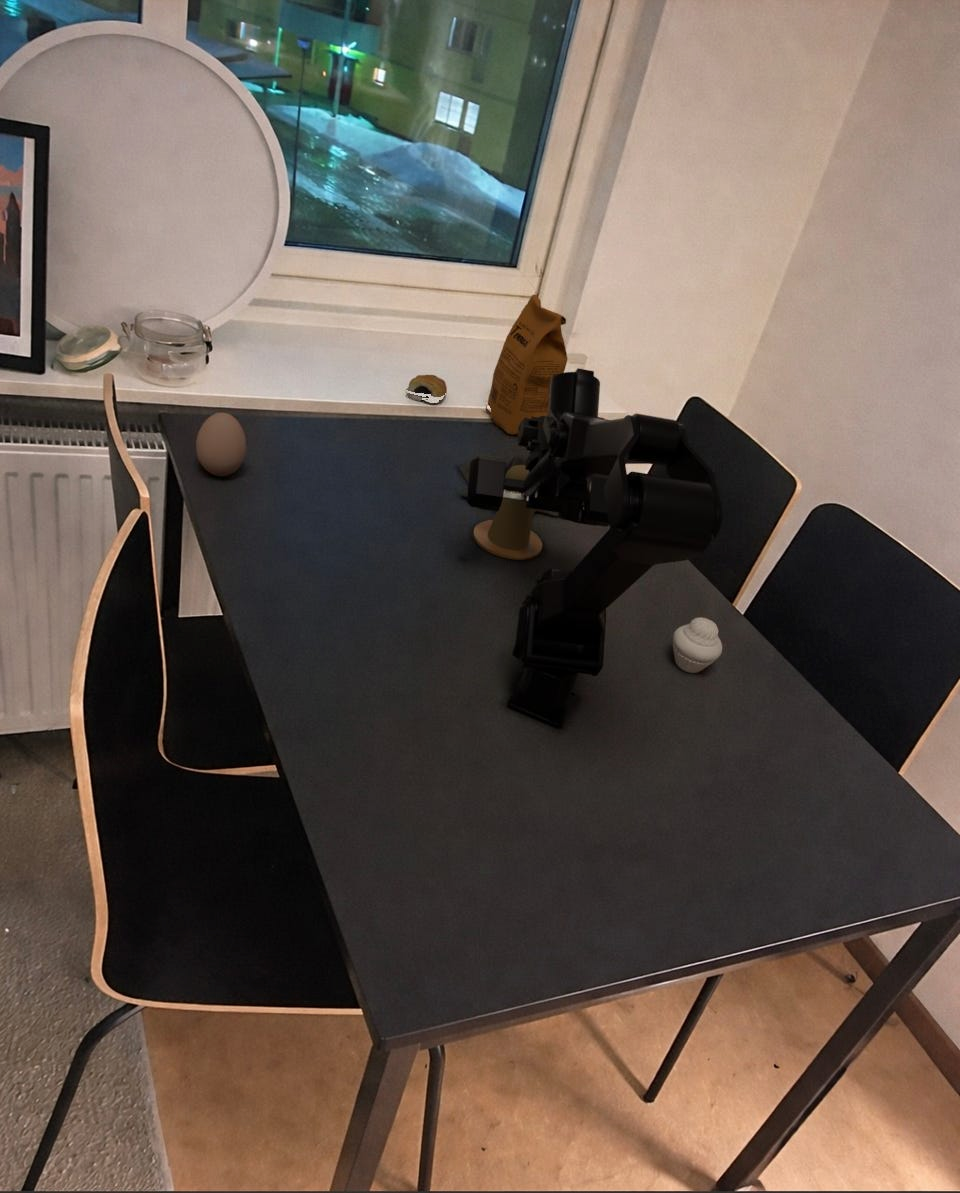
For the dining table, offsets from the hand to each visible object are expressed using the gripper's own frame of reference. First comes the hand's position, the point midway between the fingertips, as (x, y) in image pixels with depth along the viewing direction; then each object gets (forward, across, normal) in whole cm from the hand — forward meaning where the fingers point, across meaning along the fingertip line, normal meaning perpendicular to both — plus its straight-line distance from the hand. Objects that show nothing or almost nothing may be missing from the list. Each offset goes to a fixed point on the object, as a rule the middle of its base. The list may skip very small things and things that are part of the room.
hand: (526, 508), depth 120 cm
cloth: (+21, -5, -9) cm, 24 cm away
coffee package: (+40, -6, -28) cm, 49 cm away
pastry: (+44, +10, -32) cm, 55 cm away
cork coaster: (+10, 0, +2) cm, 10 cm away
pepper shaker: (+9, 0, +2) cm, 10 cm away
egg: (+15, +41, -3) cm, 43 cm away
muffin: (-7, -20, +19) cm, 29 cm away
